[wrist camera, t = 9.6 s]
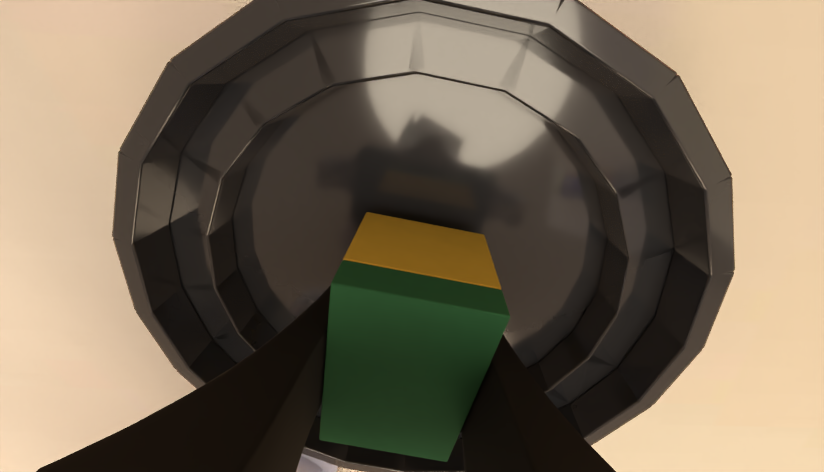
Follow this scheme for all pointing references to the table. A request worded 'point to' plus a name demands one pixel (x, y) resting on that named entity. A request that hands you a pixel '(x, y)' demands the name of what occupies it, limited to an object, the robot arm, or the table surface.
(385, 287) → the sponge
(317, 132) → the bowl
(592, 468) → the robot arm
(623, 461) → the table surface
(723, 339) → the table surface
